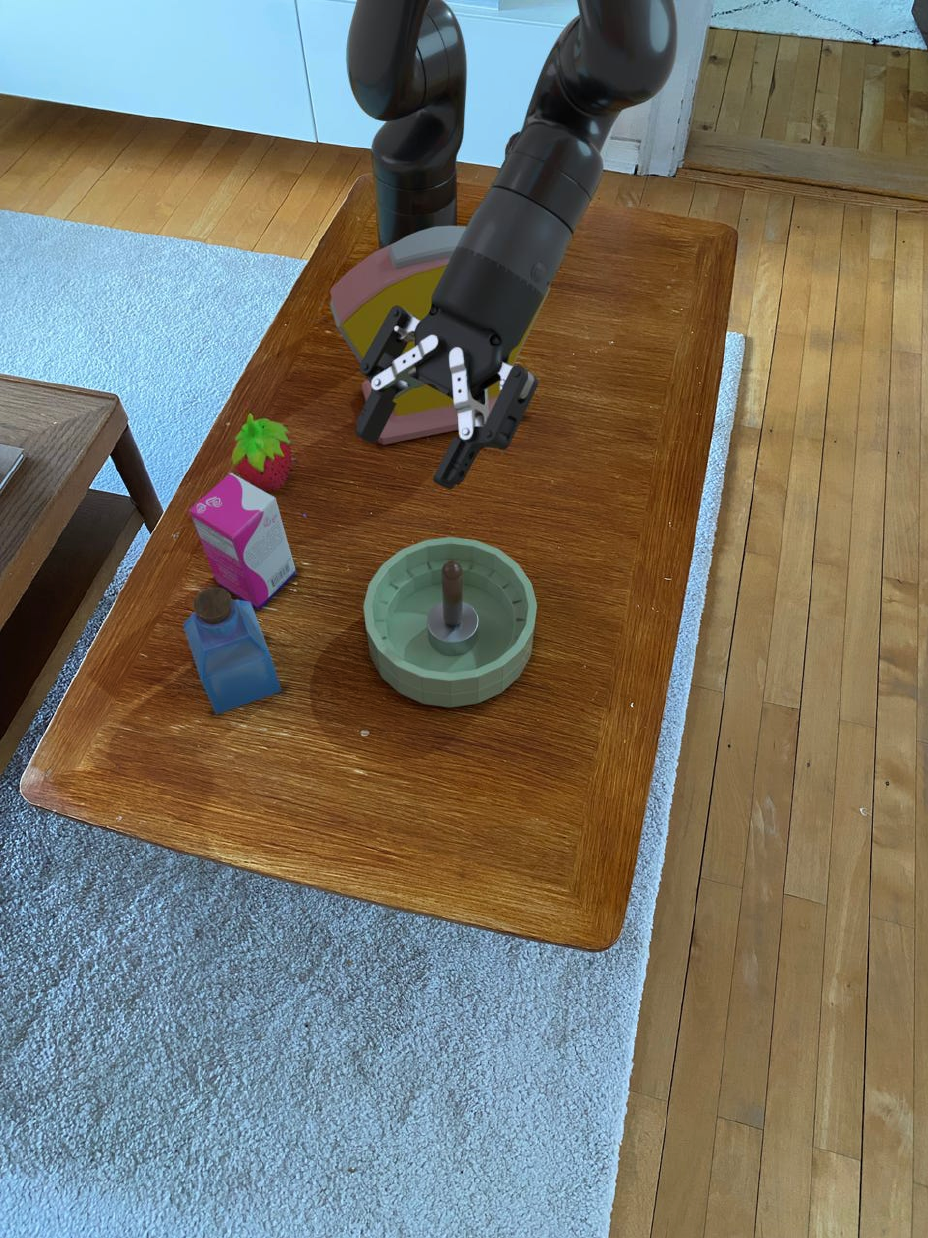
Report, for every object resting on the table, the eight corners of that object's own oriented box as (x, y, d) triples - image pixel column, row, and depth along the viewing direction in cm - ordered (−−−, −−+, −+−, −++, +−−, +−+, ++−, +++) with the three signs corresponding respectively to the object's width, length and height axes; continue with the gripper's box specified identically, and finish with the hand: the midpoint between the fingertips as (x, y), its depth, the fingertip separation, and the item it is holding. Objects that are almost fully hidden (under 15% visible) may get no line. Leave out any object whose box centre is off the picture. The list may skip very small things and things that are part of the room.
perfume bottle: (198, 660, 91) (166, 586, 81) (262, 638, 93) (238, 563, 83) (216, 714, 88) (184, 644, 78) (281, 691, 89) (259, 619, 79)
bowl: (360, 582, 96) (355, 548, 92) (515, 562, 98) (517, 528, 93) (378, 721, 88) (374, 691, 83) (547, 697, 89) (552, 666, 85)
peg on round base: (424, 617, 93) (420, 546, 84) (473, 610, 94) (474, 539, 84) (431, 659, 91) (428, 591, 81) (482, 652, 91) (484, 583, 82)
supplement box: (253, 545, 99) (231, 468, 89) (298, 573, 97) (279, 497, 87) (213, 583, 96) (186, 508, 87) (258, 612, 94) (235, 539, 85)
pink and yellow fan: (523, 359, 114) (535, 190, 96) (548, 414, 109) (565, 246, 91) (339, 395, 111) (315, 227, 93) (356, 453, 106) (335, 287, 88)
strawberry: (229, 504, 102) (208, 436, 93) (259, 454, 106) (242, 385, 97) (280, 518, 101) (263, 450, 92) (309, 467, 105) (295, 398, 96)
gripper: (596, 320, 73) (492, 511, 76) (457, 258, 79) (367, 436, 82) (555, 281, 66) (443, 492, 69) (408, 217, 73) (311, 412, 76)
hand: (402, 461), depth 76 cm, fingers open, 8 cm apart
